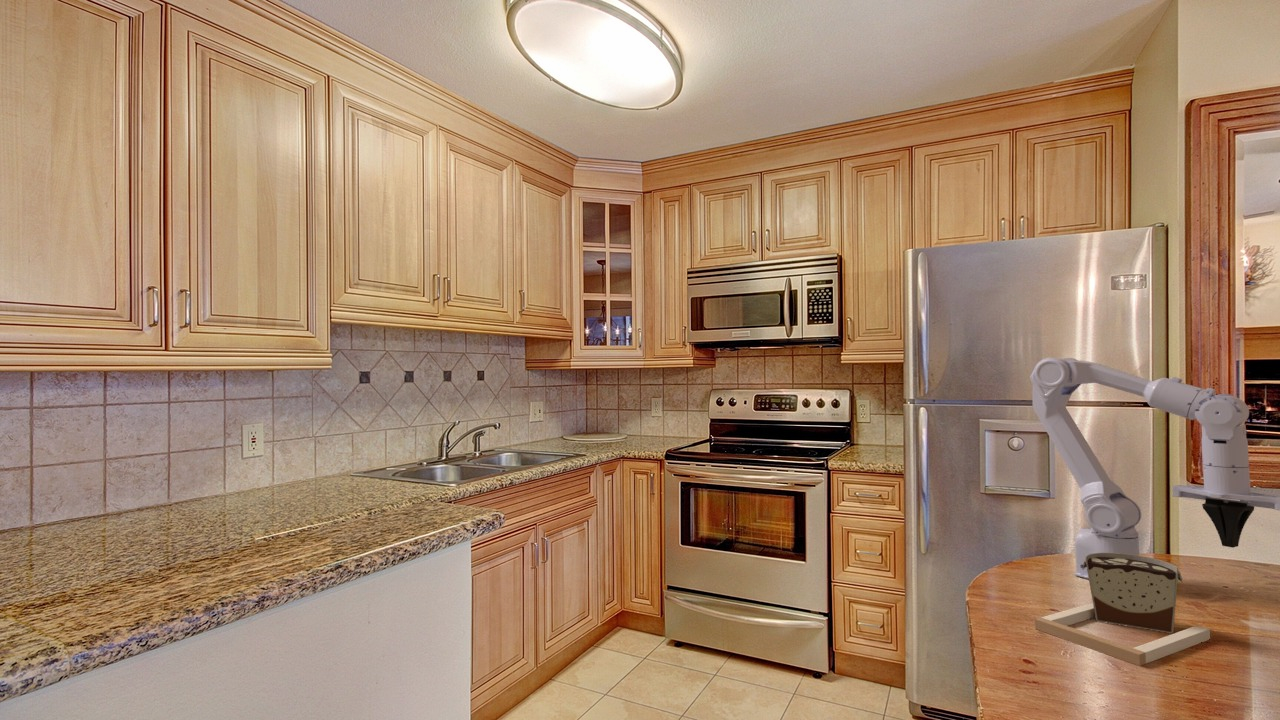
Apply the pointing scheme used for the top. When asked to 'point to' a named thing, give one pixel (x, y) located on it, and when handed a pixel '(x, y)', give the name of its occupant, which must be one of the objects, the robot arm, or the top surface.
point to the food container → (1133, 590)
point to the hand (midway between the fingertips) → (1230, 546)
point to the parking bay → (1137, 655)
